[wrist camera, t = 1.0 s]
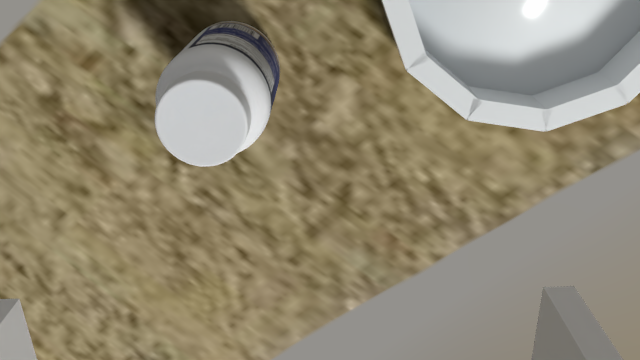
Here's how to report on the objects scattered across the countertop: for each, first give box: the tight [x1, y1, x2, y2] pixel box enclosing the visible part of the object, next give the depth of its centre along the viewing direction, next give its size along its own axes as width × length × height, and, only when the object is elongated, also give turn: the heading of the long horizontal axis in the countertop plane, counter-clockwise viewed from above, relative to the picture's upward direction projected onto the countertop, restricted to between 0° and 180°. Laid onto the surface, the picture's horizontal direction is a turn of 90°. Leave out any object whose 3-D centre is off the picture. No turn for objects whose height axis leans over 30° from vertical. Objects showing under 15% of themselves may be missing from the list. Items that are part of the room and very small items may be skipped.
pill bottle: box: [155, 21, 280, 166], centre depth 30 cm, size 5×5×10 cm
